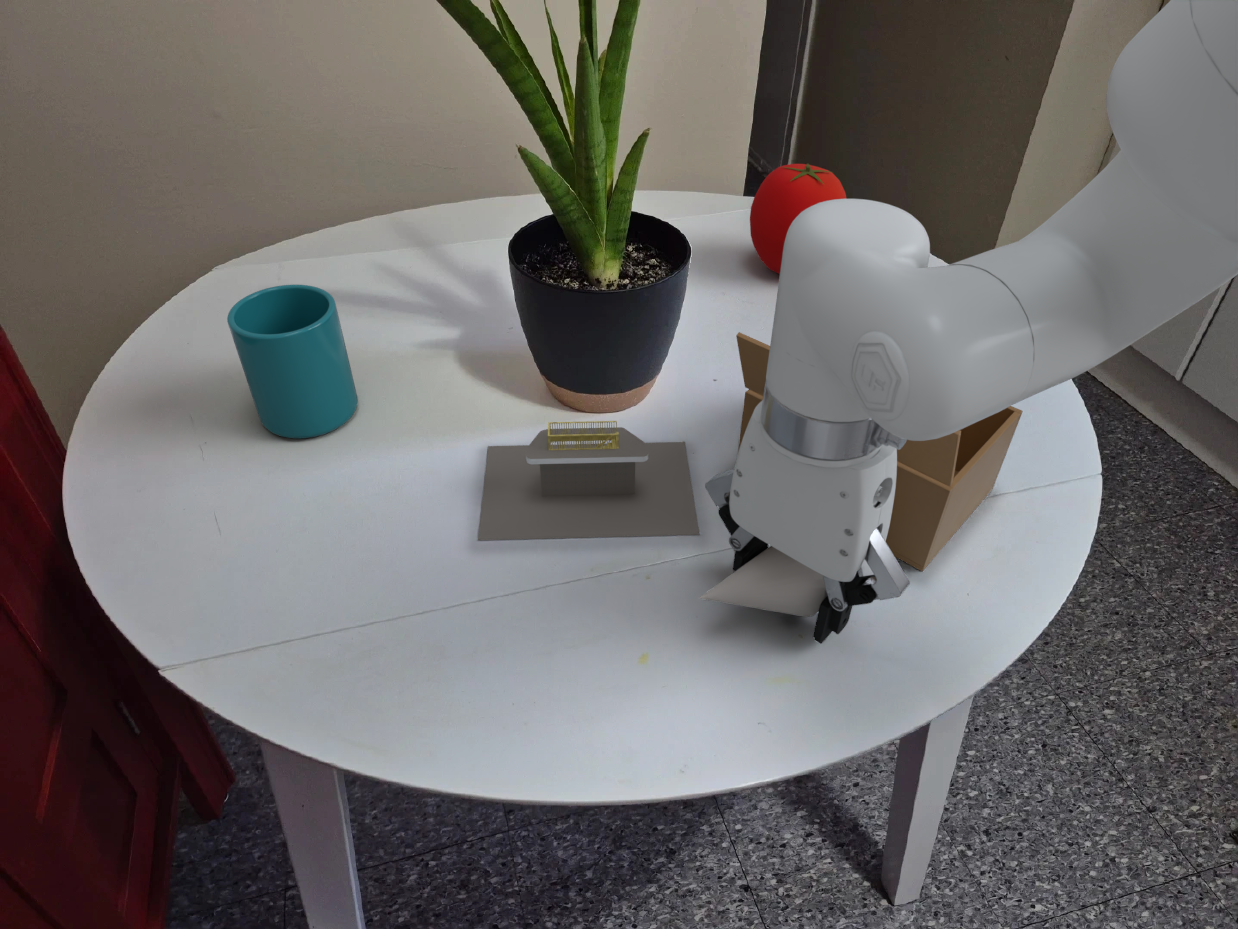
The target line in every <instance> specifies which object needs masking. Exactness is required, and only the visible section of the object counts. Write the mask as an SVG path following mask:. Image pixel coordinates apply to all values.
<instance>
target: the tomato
mask: <svg viewBox="0 0 1238 929" xmlns="http://www.w3.org/2000/svg"><path fill="white" fill-rule="evenodd" d="M834 199H848V198H847V194H846V191H845V189H844V187H843V184H842V182H841V180H840V179H839V178H838V177H837V176H836V175H835V174H834V172H833V171H830V170H828V169H825V168H822V167H819V166H816V165H812V164H809V163H806V164H805V163H789V164H784V165H781V166H778V167H776V168H775V169H774V170H773V171H771V172H770V173H768V174H767V175H766V177H765V178H764V180H762V183H760V186H759V187H758V189H757V191H756V193H755V195H754V197H753V200H752V203H751V206H750V213H749V229H750V230H749V231H750V232H749V233H750V238H751V241H752V245H753V248H754V249H755V252H756V254H757V257H758V258H759V260H760V261H761V262H762V263H763V264H764V265H765V267H766V268H767V269H768V270H770V271H772V272H774V273H776V274H778V275H780V270H781V262H782V255H783V248H784V243H785V238H786V235H787V232H788V229H789V227H790V225H791V224H792V222H793V220H794V219H795V218H796V217H797V216H798V215H799V214H800V213H801V212H802V211H804V210H805V209H807V208H809V207H811V206H813V205H815V204H817V203H820V202H824V201H828V200H834Z"/></svg>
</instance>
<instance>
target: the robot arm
mask: <svg viewBox="0 0 1238 929" xmlns="http://www.w3.org/2000/svg"><path fill="white" fill-rule="evenodd" d="M1106 87H1107V88H1106V96H1105V108H1106V115H1107V118H1108V122H1109V127H1110V129H1111V131H1112V133H1113V136H1114V138H1115V141H1116V143H1117V145H1118V147H1119V149H1120V150H1119V151H1118V152H1117V154H1116V155H1115V156H1114V157H1113V158H1112V159H1111V161H1110V162H1108V164H1106V166H1105V167H1103V169H1102V170H1101V171H1100V172H1099V173H1097V174H1096V175H1095V177H1093V178H1092V180H1090V181H1089V182H1088V183H1087V184H1086V185H1085V186H1084V187H1083V188H1082V189H1081V190H1080V191H1078V192H1077V193H1076V194H1075V195H1074V196H1073V197H1071V199H1070V200H1068V201H1067V202H1066V203H1065V204H1063V205H1062V206H1061V207H1060V208H1059V209H1058V210H1056V211H1055V212H1054V213H1053V214H1052V215H1051V216H1050V217H1049V218H1048V219H1046V220H1045V221H1044V222H1042V224H1040V225H1039V226H1038V227H1037V228H1035V229H1033V231H1031V232H1030V233H1028V234H1027V235H1025V236H1024V237H1022V238H1020V239H1019V240H1017V241H1015V242H1011V243H1008V244H1005V245H1001V246H999V247H995V248H993V249H989V250H987V251H984V252H982V253H981V252H980V253H978V254H975V255H973V256H969V257H967V258H964V259H962V260H961V259H960V260H958V261H955V262H953V263H949V264H947V265H940V266H929V261H930V257H931V243H930V238H929V235H928V232H927V231H926V228H925V227H924V225H923V224H922V223H921V222H920V221H919V220H918V219H917V218H916V217H915V216H913V215H912V214H911V213H909V212H908V211H906V210H904V209H902V208H900V207H898V206H894V205H892V204H889V203H885V202H882V201H877V200H872V199H865V198H864V199H863V198H847V199H834V200H828V201H824V202H820V203H817V204H815V205H813V206H811V207H809V208H807V209H805V210H804V211H802V212H801V213H800V214H799V215H798V216H797V217H796V218H795V219H794V220H793V222H792V224H791V225H790V227H789V229H788V232H787V235H786V238H785V243H784V248H783V255H782V262H781V270H780V274H779V278H778V285H777V293H776V299H775V307H774V308H775V309H774V315H773V322H772V329H771V338H770V345H769V346H770V351H769V358H768V366H767V373H766V381H765V389H764V396H763V400H762V401H761V402H760V403H759V404H758V405H757V406H756V408H755V409H754V412H753V414H752V416H751V418H750V421H749V423H748V426H747V428H746V431H745V434H744V436H743V439H742V442H741V445H740V448H739V452H738V451H737V455H738V456H736V460H735V464H734V468H732V469H729V470H726V471H723V472H722V471H721V472H720V473H716V474H715V475H714V476H713V477H712V478H710V479H709V480H708V481H706V482H705V485H704V487H705V490H706V492H707V493H708V495H709V497H710V498H711V500H712V502H713V504H714V506H716V507H718V512H717V513H718V516H719V517H720V519H721V521H722V522H723V523H722V524H724V526H725V528H726V529H727V531H728V532H729V534H730V537H729V538H728V543H729V544H728V545H730V547H731V548H732V549H733V550H734V556H733V562H732V563H733V564H732V571H734V572H735V571H737V570H738V569H739V568H741V567H742V566H743V565H745V564H746V563H748V562H749V561H750V560H752V559H753V558H755V557H756V556H757V555H759V554H760V553H761V552H763V551H764V550H766V549H767V548H768V547H769V546H772V547H774V548H776V549H777V550H779V551H781V552H783V553H784V554H786V555H788V556H790V557H791V558H793V559H795V560H797V561H798V562H800V563H802V564H803V565H805V566H807V567H809V568H811V569H812V570H814V571H816V572H818V573H820V574H822V575H823V579H824V583H825V587H826V591H827V595H828V596H827V597H826V598H825V599H824V600H823V601H822V602H821V604H820V607H819V611H818V612H817V615H816V620H815V624H814V628H813V633H812V638H813V640H814V641H815V642H817V643H818V644H823V643H824V642H825V641H826V639H828V637H829V636H830V635H831V634H832V633H835V634H836V635H839V634H840V633H842V631H843V630H844V629H845V628H846V626H847V624H848V622H849V621H850V617H851V613H852V610H853V606H860V605H861V606H862V605H868V604H869V605H870V604H872V603H873V602H874V601H877V600H879V601H883V600H889V599H897V598H899V597H901V596H902V594H903V593H905V591H906V590H907V589H908V587H909V586H910V585H911V581H910V579H909V578H908V576H907V574H906V573H905V571H904V569H903V568H902V566H901V564H900V563H899V561H898V559H897V558H896V557H895V556H894V555H893V553H892V551H891V550H890V548H889V546H888V545H887V543H886V542H885V541H886V538H887V534H888V530H889V526H890V520H891V515H892V509H893V503H894V496H895V488H896V476H897V449H898V450H900V449H901V448H902V447H903V446H904V445H905V443H906V441H907V440H912V441H926V440H932V439H938V438H941V437H944V436H947V435H950V434H952V433H954V432H956V431H959V430H961V429H963V428H965V427H967V426H969V425H972V424H974V423H976V422H978V421H980V420H982V419H985V418H987V417H989V416H991V415H994V414H996V413H998V412H1000V411H1002V410H1004V409H1006V408H1008V407H1009V406H1013V405H1015V404H1018V403H1019V402H1022V401H1024V400H1027V399H1028V398H1031V397H1033V396H1035V395H1037V394H1039V393H1042V392H1044V391H1046V390H1049V389H1051V388H1054V387H1056V386H1058V385H1061V384H1063V383H1065V382H1068V381H1070V380H1072V379H1074V378H1076V377H1078V376H1080V375H1082V374H1084V373H1086V372H1088V371H1090V370H1091V369H1093V368H1095V367H1096V366H1098V365H1100V364H1102V363H1104V362H1105V361H1107V360H1109V359H1110V358H1112V357H1113V356H1115V355H1117V354H1118V353H1120V352H1121V351H1123V350H1125V349H1126V348H1128V347H1129V346H1131V345H1132V344H1134V343H1135V342H1137V341H1138V340H1140V339H1142V338H1144V337H1145V336H1146V335H1148V334H1150V333H1151V332H1152V331H1154V330H1156V329H1157V328H1159V327H1161V326H1162V325H1164V324H1166V323H1167V322H1168V321H1170V320H1172V319H1173V318H1175V317H1176V316H1178V315H1180V314H1181V313H1183V312H1185V311H1186V310H1188V309H1189V308H1190V307H1192V306H1194V305H1195V304H1197V303H1198V302H1200V301H1201V300H1203V299H1204V298H1206V297H1207V296H1209V295H1211V294H1212V293H1213V292H1216V290H1218V289H1219V288H1221V287H1222V286H1224V285H1225V284H1226V283H1228V282H1229V281H1230V280H1232V279H1233V278H1235V277H1236V276H1238V0H1169V1H1168V3H1166V4H1165V5H1164V6H1163V7H1162V8H1161V10H1160V11H1158V12H1157V13H1156V14H1155V15H1154V16H1153V17H1152V18H1151V19H1150V20H1149V21H1148V22H1147V23H1146V24H1145V25H1144V26H1143V27H1142V28H1141V29H1140V30H1138V32H1137V33H1136V34H1135V35H1134V36H1133V38H1131V39H1130V40H1129V41H1128V43H1127V44H1126V45H1125V46H1124V48H1123V49H1122V51H1121V52H1120V53H1119V55H1118V57H1117V59H1116V60H1115V62H1114V65H1113V67H1112V68H1111V71H1110V73H1109V76H1108V79H1107V86H1106ZM864 559H865V560H866V562H867V564H868V565H869V567H870V569H871V570H872V572H873V573H874V575H868V576H864V575H863V571H862V567H861V565H862V563H863V561H864Z"/></svg>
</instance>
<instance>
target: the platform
mask: <svg viewBox="0 0 1238 929" xmlns="http://www.w3.org/2000/svg"><path fill="white" fill-rule="evenodd" d="M604 423H606V427H604ZM613 423H615V426H613ZM563 424H565V425H563ZM570 424H572V427H570ZM579 424H581V427H579ZM588 424H590V427H586V426H588ZM595 424H597V427H595ZM617 424H618V422H617V420H591V421H589V420H588V421H554V422H553V421H548V423H547V428H546V429H542V430H540V431H539V432H538V433H537V434H536V436H535V437H534V438H533V440H532V441H531V442H530V443H529V444H526V445H523V444H522V445H488V446H487V454H486V464H485V473H484V481H483V490H482V498H481V500H482V501H481V507H480V508H481V509H480V516H479V517H480V518H479V526H478V535H477V541H506V540H508V541H509V540H511V541H512V540H544V539H545V540H547V539H549V540H550V539H583V538H586V539H587V538H590V539H591V538H620V537H621V538H622V537H623V538H624V537H625V538H627V537H628V538H629V537H661V536H662V537H665V536H666V537H667V536H668V537H669V536H697V535H698V536H700V534H701V533H700V527H699V522H698V515H697V509H696V502H695V497H694V496H695V495H694V489H693V483H692V477H691V471H690V465H689V458H688V457H689V456H688V452H687V444H686V441H666V442H665V441H662V442H661V441H660V442H657V441H656V442H655V441H654V442H645V441H643V440H642V439H640V438H639V437H637V436H636V435H635V434H633V433H632V432H630V431H629V430H628V429H626V428H624V427H622V426H619V427H618V425H617ZM554 425H556V428H554ZM561 427H563V428H561ZM585 442H586V443H585ZM593 442H594V443H593Z"/></svg>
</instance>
